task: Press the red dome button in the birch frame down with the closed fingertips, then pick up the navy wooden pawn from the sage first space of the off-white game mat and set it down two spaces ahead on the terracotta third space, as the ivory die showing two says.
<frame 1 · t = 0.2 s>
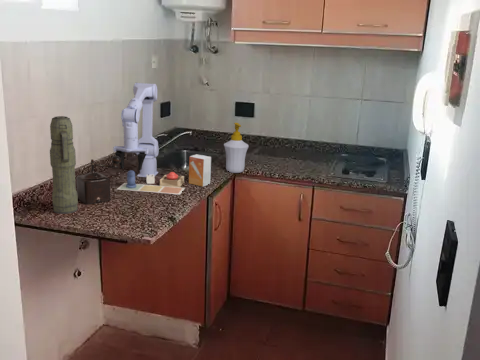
hand: (131, 169, 207), 10 cm above the worktop, tool pointing down, fingers open, 7 cm apart
dark brown coffee grinder: (100, 199, 199), on the worktop
ivory die: (150, 182, 223), on the worktop
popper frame: (172, 184, 223), on the worktop
soap bottle: (234, 171, 251), on the worktop
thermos: (65, 210, 184), on the worktop
dome button: (172, 175, 222), point 4 cm above the worktop, slide at 0.0 cm
game mat: (151, 188, 214), on the worktop
small box: (199, 184, 226), on the worktop
pawn: (131, 186, 215), resting on game mat
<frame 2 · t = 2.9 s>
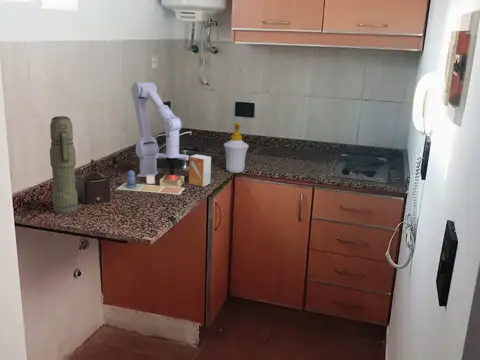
hand: (172, 174, 222), 5 cm above the worktop, tool pointing down, fingers closed, pressing on dome button
dome button: (172, 178, 222), point 3 cm above the worktop, slide at -1.1 cm, touching gripper
everything else where it was.
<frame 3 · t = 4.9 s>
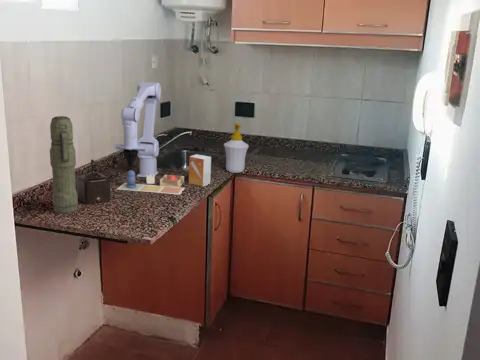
hand: (131, 166, 213), 9 cm above the worktop, tool pointing down, fingers closed
dome button: (172, 179, 222), point 2 cm above the worktop, slide at -1.5 cm
everything else where it was.
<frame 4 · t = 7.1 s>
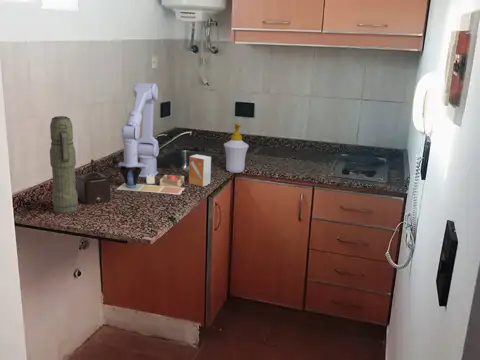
hand: (131, 183, 215), 2 cm above the worktop, tool pointing down, fingers closed on pawn, 3 cm apart
pawn: (131, 186, 215), resting on game mat, touching gripper
everything else where it was.
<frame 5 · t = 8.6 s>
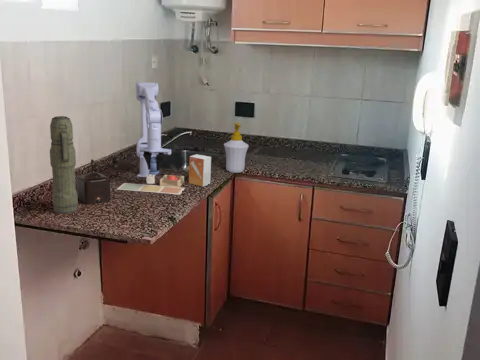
hand: (154, 169, 212), 9 cm above the worktop, tool pointing down, fingers closed on pawn, 3 cm apart
pawn: (154, 173, 212), point 7 cm above the worktop, touching gripper
everything else where it was.
when the fingers open (3 cm above the worktop, at t = 10.6 s): pawn drops 1 cm, resting on game mat.
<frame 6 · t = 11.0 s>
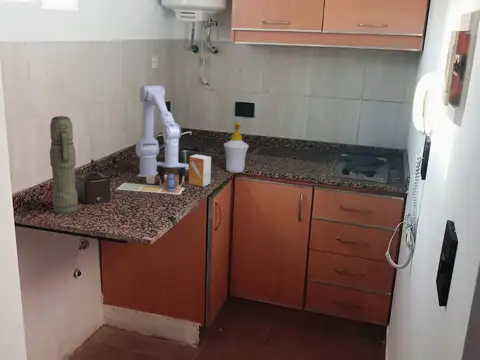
hand: (171, 184, 213), 3 cm above the worktop, tool pointing down, fingers open, 7 cm apart
pawn: (171, 190, 213), resting on game mat
everything else where it was.
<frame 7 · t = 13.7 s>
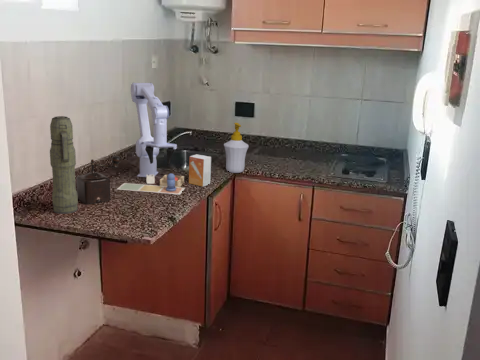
hand: (160, 163, 218), 10 cm above the worktop, tool pointing down, fingers open, 7 cm apart
nothing on the worktop moved.
at the end: dome button slide at -1.5 cm; pawn inside the target area (0.1 cm from its centre), resting on game mat; pawn tilted 1° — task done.
